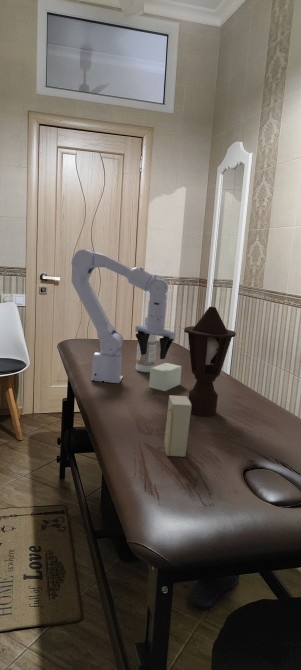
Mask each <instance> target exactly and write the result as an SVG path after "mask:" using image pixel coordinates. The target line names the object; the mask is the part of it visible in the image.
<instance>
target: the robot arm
mask: <svg viewBox="0 0 301 670" xmlns="http://www.w3.org/2000/svg"><path fill="white" fill-rule="evenodd" d="M70 263H71V285H72V286H73V288H74V290H75V292H76V294H77V295H78V297H79V299H80V300H81V303H82V305H83V307H84V309H85V310H86V312H87V314H88V317H89V318H90V321H91V322H92V324H93V326H94V328H95V330H96V334H97V339H98V341H99V348H100V352H96V351H95V352H94V354H93V357H92V364H91V365H92V367H91V379H90V380H91V381H93V380H94V382H102V381H104V383H111V384H112V383H113V384H121V383H120V382H121V381H122V379H123V377H124V376H123V375H121V372H122V357H123V352H122V351H121V348H122V346H123V345H124V338H123V336H122V334H121V333H120V332H119V331H117V330H116V328H115V326H114V325H113V324H112V323H111V322H110V319H109V318H108V316H107V315H106V312H105V311H104V309H103V306H102V304H101V303H100V301H99V298H98V297H97V295H96V293H95V291H94V289H93V287H92V285H91V282H89V281H90V277H91V275H92V272H93V271H94V269H97V268H105V269H107V270H109V271H111V272H114V273H116V274H118V275H121V276H123V277H125V278H126V279H127V282H128V283H129V284H130V285H132V286H135V287H136V288H138V289H140V290H142V291H145V292H149V301H148V305H147V306H148V308H147V316H148V317H147V327H146V326H145V325H135V331H134V332H136V333H135V338H136V339H137V343H138V342H139V346H140V351H141V355H144V354H146V352H147V343H148V339H149V336H150V334H152V335H156V336H158V337H159V345H160V351H159V353H160V354H159V359H160V360H164V359H166V358H167V354H168V352H169V351H168V350H169V349H170V346H171V345H172V343H174V341H175V340H174V339H176V334H177V333H176V332H174V331H172V330H167V329H165V321H166V311H167V293H168V289H169V285H168V282H167V281H166V280H165V279H163V278H162V277H158V275H157V274H151V273H149V272H148V271H146V270H145V268H144V267H142V266H139V267H137V266H136V267H133V268H130V267H129V266H127V265H125V264H124V263H122V262H119V261H118V260H116V259H114V258H112V257H111V256H108V255H106V254H103V253H101V252H97V251H95V250H92V249H80V250H77V251H76V252H75V253H74V255H73V257H72V259H71V262H70Z"/></svg>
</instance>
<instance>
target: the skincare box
mask: <svg viewBox="0 0 301 670" xmlns="http://www.w3.org/2000/svg"><path fill="white" fill-rule="evenodd" d="M191 407H192V405H191V403H190V401H189V396H187V395H172V394H169V395H168V404H167V414H166V423H165V433H164V442H163V445H164V450H165V455H166V456H167V457H181V458H182V457H184V458H185V457H186V454H187V445H188V438H189V431H190V420H191V415H192V414H191Z"/></svg>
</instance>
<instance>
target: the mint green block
mask: <svg viewBox="0 0 301 670" xmlns="http://www.w3.org/2000/svg"><path fill="white" fill-rule="evenodd" d="M181 376H182V365H178V364H175V363H174V364H173V363H168V362H164V363H161V364H158V365H156V366H155V367H153V368H150V372H149V379H148V381H149V383H148V388H150V389H154V390H157V391H162V392H167V391H168V390H171V389H172V388H176V387H177V386H180V385H181V378H182V377H181Z"/></svg>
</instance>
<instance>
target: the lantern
mask: <svg viewBox="0 0 301 670" xmlns="http://www.w3.org/2000/svg"><path fill="white" fill-rule="evenodd" d="M184 333H186V334H187V335H188V336H187V337H188V345H189V357H190V366H191V373H192V374H193V375H194V379H195V380H196V381H195V383H194V386H193V388H191V389H190V390H189V391H188V399H189V401H190V403H191V405H192V407H191V415H193V416H197V417H204V418H205V417H213V416H215V415H216V414H217V408H218V407H217V406H218V398H219V397H218V396H219V394H218V392H217V391H216V390H215V387H214V382H215V381H216V379H217V378H218V377H220V375H221V372H222V369H223V366H224V363H225V360H226V356H227V355H228V350H229V348H230V344H231V341H232V339H233V338H235V337H236V336H237V335H236V334H237V333H236V331H235V330H230V329H227V328H226V325H225V323H224V322H223V320H222V318H221V316H220V314H219V311H218V310H217V308H216V306H209V307H208V308H207V310H206V311H205V312H204V314H203V315H202V316H201V318H200V319H199V320H198V322H197V323H196V325H191V326H186V327H184Z"/></svg>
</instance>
